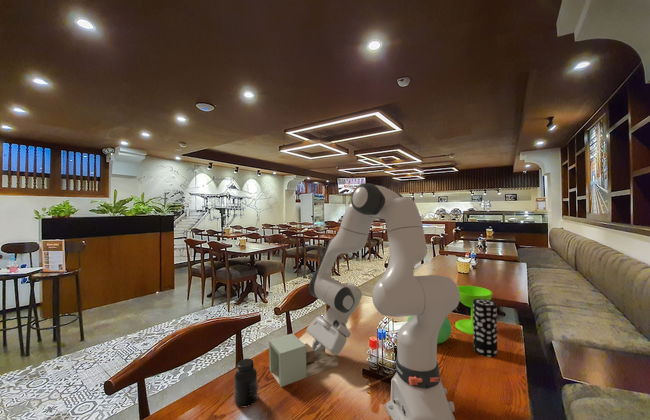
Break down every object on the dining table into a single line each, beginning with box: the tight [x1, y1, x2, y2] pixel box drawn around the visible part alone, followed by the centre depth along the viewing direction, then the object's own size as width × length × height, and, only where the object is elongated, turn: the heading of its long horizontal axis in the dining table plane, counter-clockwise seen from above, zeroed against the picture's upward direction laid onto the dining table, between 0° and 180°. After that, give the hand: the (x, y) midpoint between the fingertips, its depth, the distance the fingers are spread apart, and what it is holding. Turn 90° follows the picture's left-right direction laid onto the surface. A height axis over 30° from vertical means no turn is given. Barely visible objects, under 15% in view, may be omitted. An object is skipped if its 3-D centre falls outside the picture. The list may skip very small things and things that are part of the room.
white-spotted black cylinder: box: [472, 299, 498, 358], centre depth 111 cm, size 8×8×20 cm
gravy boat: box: [406, 316, 452, 345], centre depth 121 cm, size 18×17×15 cm
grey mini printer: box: [270, 345, 340, 388], centre depth 102 cm, size 23×11×4 cm, turn 121°
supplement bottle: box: [233, 358, 258, 407], centre depth 86 cm, size 7×7×12 cm
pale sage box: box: [268, 333, 308, 388], centre depth 99 cm, size 10×11×11 cm
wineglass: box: [454, 285, 493, 336], centre depth 132 cm, size 16×16×18 cm
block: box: [304, 343, 315, 366], centre depth 102 cm, size 8×6×7 cm
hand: (312, 353), depth 104 cm, fingers closed
